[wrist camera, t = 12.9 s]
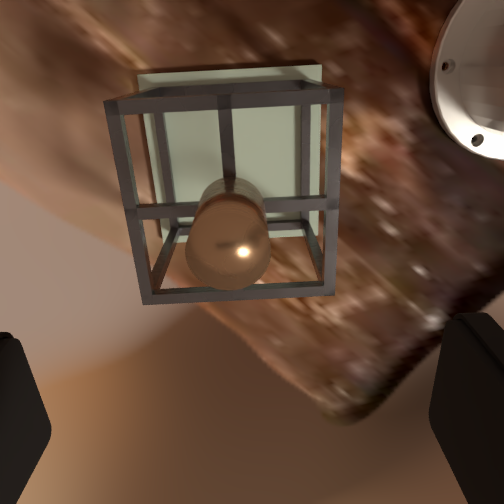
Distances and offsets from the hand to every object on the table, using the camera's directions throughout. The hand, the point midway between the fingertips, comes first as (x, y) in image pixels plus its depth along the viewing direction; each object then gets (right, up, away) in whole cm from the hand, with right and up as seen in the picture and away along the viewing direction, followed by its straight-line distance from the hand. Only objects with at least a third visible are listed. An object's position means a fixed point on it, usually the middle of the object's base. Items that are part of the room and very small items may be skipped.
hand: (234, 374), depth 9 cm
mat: (-1, +9, +20) cm, 22 cm away
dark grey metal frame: (-1, +9, +20) cm, 22 cm away
